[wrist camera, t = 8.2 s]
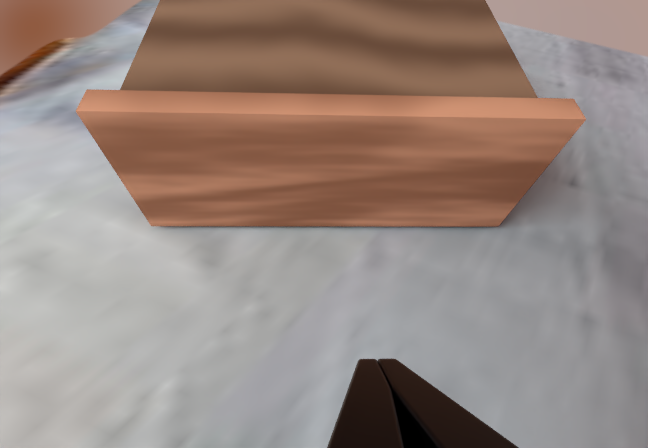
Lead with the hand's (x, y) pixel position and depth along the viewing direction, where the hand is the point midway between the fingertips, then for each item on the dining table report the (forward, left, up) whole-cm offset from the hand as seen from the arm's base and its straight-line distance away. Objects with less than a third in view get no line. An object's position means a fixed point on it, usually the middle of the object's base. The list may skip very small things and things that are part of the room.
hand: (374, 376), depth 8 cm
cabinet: (+14, -16, -13) cm, 25 cm away
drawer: (+13, -15, -13) cm, 24 cm away
